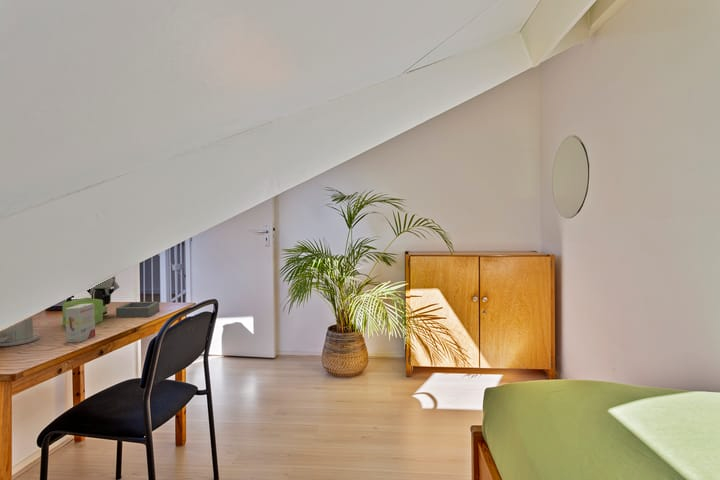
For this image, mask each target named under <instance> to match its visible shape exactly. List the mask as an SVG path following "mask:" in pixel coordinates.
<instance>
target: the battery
mask: <svg viewBox="0 0 720 480" xmlns="http://www.w3.org/2000/svg"><path fill="white" fill-rule="evenodd" d="M105 295H106V292H105V289H94V290H93V291H92V298H94V299H100V300H103V306H106V305H105ZM107 314H108V310H107V311H105V312H103V316H104V315H107Z"/></svg>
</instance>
